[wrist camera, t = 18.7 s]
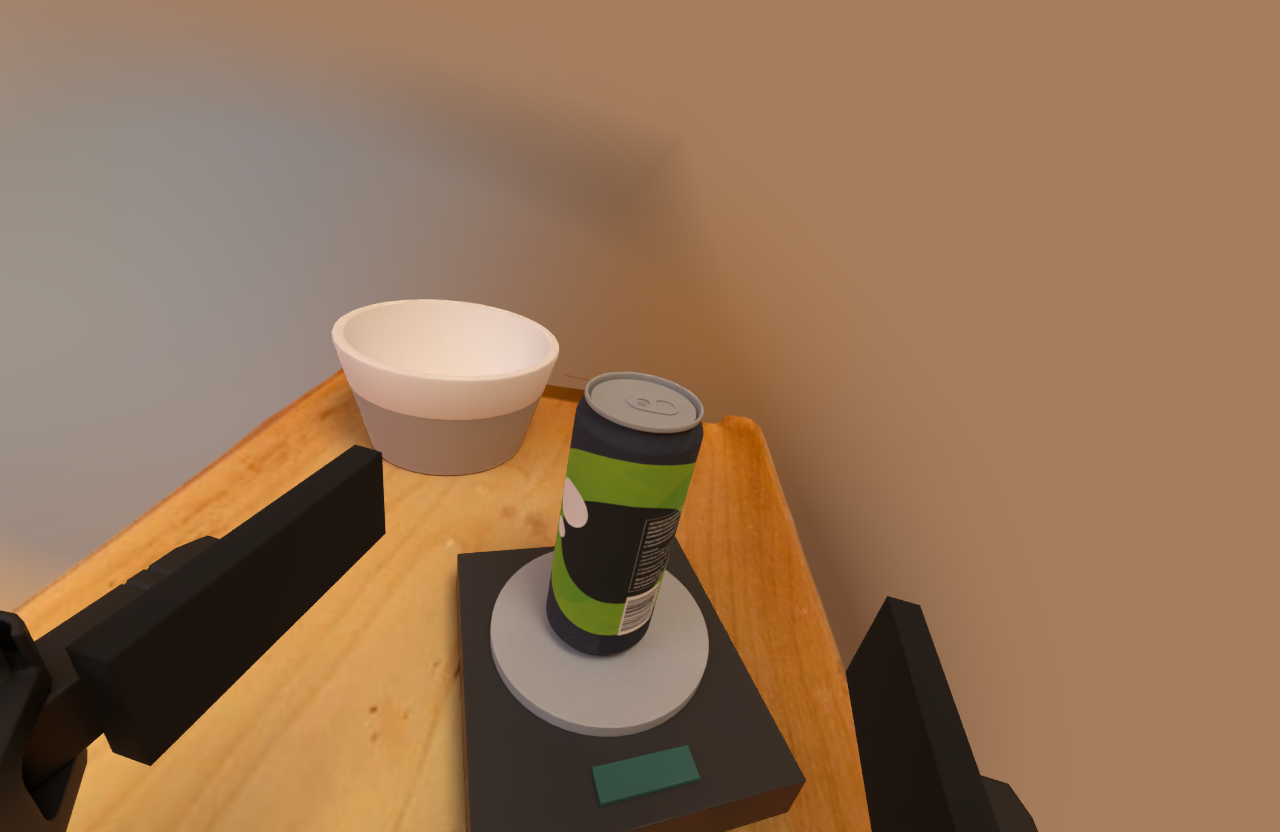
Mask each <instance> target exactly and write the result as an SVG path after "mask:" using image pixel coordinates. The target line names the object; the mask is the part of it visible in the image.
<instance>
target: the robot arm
mask: <svg viewBox="0 0 1280 832" xmlns="http://www.w3.org/2000/svg"><path fill="white" fill-rule="evenodd" d="M384 534H385V510H384V488H383V465H382V452H380V451H376V450H372V449H369V448H365V447H362V446H358V445H354V446H353V447H351V448H350V449H348V450H347V451H345V452H344V453H343V454H341V455H340V456H338V457H337V458H335V459H334V460H333V461H331V462H330V463H328V464H327V465H325V466H324V467H323V468H321V469H320V470H318V471H317V472H315V473H314V474H313V475H311V476H310V477H308V478H307V479H305V480H304V481H303V482H301V483H300V484H298V485H297V486H295V487H294V488H292V489H291V490H290V491H288V492H287V493H285V494H284V495H282V496H281V497H280V498H278V499H277V500H275V501H274V502H272V503H271V504H270V505H268V506H267V507H265V508H264V509H262V510H261V511H260V512H258V513H257V514H255V515H254V516H252V517H251V518H250V519H248V520H247V521H245V522H244V523H242V524H241V525H240V526H238V527H237V528H235V529H234V530H232V531H231V532H230V533H228V534H227V535H225V536H224V537H222V538H221V539H217V538H214V537H211V536H208V535H207V536H205V537H202V538H200V539H197V540H195V541H192V542H190V543H187V544H185V545H182V546H180V547H177V548H175V549H174V550H172V551H171V552H169V553H168V554H166V555H165V556H163V557H162V558H160V559H159V560H157V561H156V562H154V563H153V564H151V565H150V566H149V568H148V569H147V570H145V569H144V570H142V571H141V572H139V573H138V574H136V575H135V576H133V577H131V578H130V579H128V580H127V583H126V584H124V585H122V584H121V585H119V586H118V587H116V588H115V589H113V590H112V591H110V592H109V593H107V594H106V595H104V596H103V597H101V598H100V599H98V600H97V601H95V602H94V603H92V604H91V605H89V606H88V607H86V608H85V609H83V610H82V611H80V612H79V613H77V614H76V615H74V616H73V617H71V618H70V619H68V620H67V621H65V622H63V623H62V624H60V625H59V626H57V627H56V628H54V629H53V630H51V631H50V632H48V633H47V634H45V635H44V636H42V637H41V638H39V639H38V640H36V641H33V639H32V637H31V635H30V633H29V631H28V629H27V627H26V625H25V623H24V621H23V620H22V619H21V618H20V617H19V616H18V615H17V614H15V613H10V612H5V611H0V832H66V830H67V827H68V823H69V820H70V817H71V814H72V810H73V807H74V804H75V800H76V797H77V794H78V791H79V787H80V784H81V781H82V777H83V774H84V771H85V768H86V764H87V748H86V747H88V746H89V745H90V744H91V743H92V742H93V741H95V740H96V739H97V738H98V737H99V736H100V735H101V734H103V733H104V734H105V736H106V738H107V741H108V743H109V745H110V747H111V749H112V752H113V753H116V754H119V755H121V756H124V757H127V758H130V759H132V760H135V761H138V762H141V763H143V764H146V765H149V766H151V765H152V764H153V763H154V762H155V761H156V760H157V759H158V758H159V757H160V756H161V755H162V754H163V753H164V752H165V751H166V750H167V749H168V748H169V747H170V746H171V745H172V744H174V743H175V742H176V741H177V740H178V739H179V738H180V737H181V736H182V735H183V734H184V733H185V732H186V731H187V730H188V729H189V728H190V727H191V726H192V725H193V724H194V723H195V722H196V721H197V720H198V719H199V718H200V717H201V716H202V715H203V714H204V713H205V712H206V711H207V710H208V709H209V708H210V707H211V706H212V705H213V704H214V703H215V702H216V701H217V700H218V699H219V698H220V697H221V696H222V695H223V694H224V693H225V692H226V691H227V690H228V689H229V688H230V687H231V686H232V685H233V684H234V683H235V682H236V681H237V680H238V679H239V678H240V677H241V676H242V675H243V674H244V673H245V672H246V671H247V670H248V669H249V668H250V667H251V666H252V665H253V664H254V663H255V662H256V661H257V660H258V659H259V658H260V657H261V656H262V655H263V654H264V653H265V652H266V651H267V650H268V649H269V648H270V647H271V646H272V645H273V644H274V643H275V642H276V641H277V640H278V639H279V638H280V637H281V636H282V635H283V634H284V633H285V632H286V631H288V630H289V629H290V628H291V627H292V626H293V625H294V624H295V623H296V622H297V621H298V620H299V619H300V618H301V617H302V616H303V615H304V614H305V613H306V612H307V611H308V610H309V609H310V608H311V607H312V606H313V605H314V604H315V603H316V602H317V601H318V600H319V599H320V598H321V597H322V596H323V595H324V594H325V593H326V592H327V591H328V590H329V589H330V588H331V587H332V586H333V585H334V584H335V583H336V582H337V581H338V580H339V579H340V578H341V577H342V576H343V575H344V574H345V573H346V572H347V571H348V570H349V569H350V568H351V567H352V566H353V565H354V564H355V563H356V562H357V561H358V560H359V559H360V558H361V557H362V556H363V555H364V554H365V553H366V552H367V551H368V550H369V549H370V548H371V547H372V546H373V545H374V544H375V543H376V542H377V541H378V540H379V539H380V538H381V537H382V536H383V535H384ZM846 676H847V682H848V689H849V695H850V701H851V707H852V713H853V719H854V725H855V731H856V737H857V743H858V749H859V756H860V762H861V768H862V774H863V780H864V786H865V792H866V798H867V804H868V810H869V816H870V823H871V829H872V832H1038V830H1037V828H1036V826H1035V823H1034V821H1033V818H1032V817H1031V815H1030V814H1029V812H1028V811H1027V809H1026V808H1025V807H1024V805H1023V804H1022V803H1021V801H1020V800H1019V798H1018V797H1017V795H1016V794H1015V793H1014V791H1013V790H1012V788H1011V787H1010V786H1009V784H1007V783H1004V782H1000V781H998V780H994V779H991V778H988V777H985V776H981V775H980V773H979V770H978V767H977V764H976V761H975V759H974V756H973V753H972V750H971V747H970V745H969V742H968V739H967V736H966V733H965V730H964V728H963V725H962V722H961V719H960V716H959V714H958V711H957V708H956V705H955V702H954V700H953V697H952V694H951V691H950V688H949V685H948V683H947V680H946V677H945V674H944V672H943V669H942V666H941V663H940V660H939V657H938V654H937V652H936V649H935V646H934V643H933V640H932V638H931V635H930V633H929V629H928V627H927V624H926V621H925V618H924V615H923V612H922V609H921V607H920V605H917V604H913V603H910V602H906V601H903V600H899V599H896V598H892V597H889V596H887V598H886V599H885V601H884V603H883V605H882V607H881V609H880V610H879V612H878V614H877V616H876V618H875V619H874V622H873V623H872V625H871V627H870V629H869V630H868V632H867V634H866V636H865V638H864V640H863V641H862V643H861V645H860V647H859V649H858V650H857V652H856V654H855V656H854V658H853V659H852V661H851V663H850V665H849V667H848V669H847V670H846Z"/></svg>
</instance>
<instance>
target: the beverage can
mask: <svg viewBox="0 0 1280 832" xmlns="http://www.w3.org/2000/svg"><path fill="white" fill-rule="evenodd" d="M703 414H704V408H703V405H702V403H701V402H700V400H699V399H698V398H697V397H696V396H695V395H694V394H693V393H692V392H690V391H689V390H688V389H686V388H684V387H682V386H681V385H679V384H676V383H674V382H672V381H669V380H667V379H664V378H661V377H657V376H653V375H649V374H643V373H636V372H611V373H605V374H601V375H599V376H596V377H594V378H593V379H591V380H590V381H589V382H588V383H587V385H586V387H585V395H584V396H583V397H582V399H581V400H580V402H579V403H578V405H577V408H576V414H575V420H574V427H573V433H572V440H571V446H570V453H569V459H568V466H567V472H566V479H565V485H564V492H563V498H562V505H561V511H560V518H559V524H558V531H557V537H556V544H555V550H554V557H553V563H552V570H551V576H550V583H549V589H548V596H547V603H546V613H547V618H548V621H549V623H550V625H551V627H552V629H553V630H554V632H555V633H556V634H557V636H558V637H559V638H560V639H562V640H563V641H564V642H565V643H567V644H568V645H569V646H571V647H572V648H574V649H576V650H578V651H580V652H583V653H586V654H590V655H597V656H604V655H611V654H616V653H620V652H623V651H626V650H628V649H630V648H631V647H633V646H635V645H636V644H637V643H638V642H639V641H640V640H641V639H642V638H643V637H644V635H645V634H646V632H647V630H648V628H649V625H650V621H651V618H652V614H653V611H654V607H655V604H656V600H657V597H658V593H659V590H660V586H661V583H662V579H663V576H664V572H665V569H666V565H667V562H668V558H669V555H670V551H671V548H672V544H673V541H674V537H675V534H676V530H677V527H678V523H679V519H680V516H681V512H682V509H683V505H684V502H685V498H686V495H687V491H688V488H689V484H690V481H691V477H692V474H693V470H694V467H695V463H696V460H697V456H698V453H699V449H700V446H701V442H702V439H703V427H702V423H701V420H702V418H703Z"/></svg>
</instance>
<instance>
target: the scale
mask: <svg viewBox="0 0 1280 832" xmlns="http://www.w3.org/2000/svg"><path fill="white" fill-rule="evenodd" d="M554 550H555V547H542V548H529V549H516V550H503V551H490V552H477V553H464V554H458V557H457V580H456V593H457V618H458V643H459V667H460V692H461V716H462V741H463V765H464V790H465V815H466V832H724V831H727V830H730V829H734V828H737V827H740V826H743V825H747V824H750V823H753V822H756V821H760V820H763V819H766V818H769V817H773V816H776V815H779V814H782V813H786V812H788V810H789V808H790V807H791V805H792V803H793V802H794V800H795V798H796V797H797V795H798V793H799V792H800V790H801V788H802V786H803V785H804V783H805V781H806V779H805V777H804V776H803V774H802V772H801V770H800V768H799V766H798V764H797V762H796V761H795V759H794V757H793V755H792V753H791V751H790V749H789V748H788V746H787V744H786V742H785V740H784V738H783V736H782V734H781V733H780V731H779V729H778V727H777V725H776V723H775V721H774V720H773V718H772V716H771V714H770V712H769V710H768V708H767V707H766V705H765V703H764V701H763V699H762V697H761V695H760V693H759V692H758V690H757V688H756V686H755V684H754V682H753V680H752V679H751V677H750V675H749V673H748V671H747V669H746V667H745V665H744V664H743V662H742V660H741V658H740V656H739V654H738V652H737V651H736V649H735V647H734V645H733V643H732V641H731V639H730V638H729V636H728V634H727V632H726V630H725V628H724V626H723V624H722V623H721V621H720V619H719V617H718V615H717V613H716V611H715V610H714V608H713V606H712V604H711V602H710V600H709V598H708V597H707V595H706V593H705V591H704V589H703V587H702V585H701V583H700V582H699V580H698V578H697V576H696V574H695V572H694V570H693V569H692V567H691V565H690V563H689V561H688V559H687V557H686V555H685V554H684V552H683V550H682V548H681V546H680V544H679V542H678V541H677V539H676V537H674V541H673V544H672V548H671V551H670V555H669V558H668V562H667V565H666V569H665V572H664V576H663V579H662V583H661V586H660V590H659V593H658V597H657V600H656V604H655V607H654V611H653V614H652V618H651V621H650V625H649V628H648V630H647V632H646V634H645V635H644V637H643V638H642V639H641V640H640V641H639V642H638V643H637V644H636V645H635V646H633V647H631V648H630V649H628V650H626V651H623V652H620V653H616V654H611V655H604V656H597V655H590V654H586V653H583V652H580V651H578V650H576V649H574V648H572V647H571V646H569V645H568V644H567V643H565V642H564V641H563V640H562V639H560V638H559V637H558V636H557V634H556V633H555V632H554V630H553V629H552V627H551V625H550V623H549V621H548V618H547V613H546V603H547V596H548V589H549V583H550V576H551V570H552V563H553V557H554Z"/></svg>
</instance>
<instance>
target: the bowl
mask: <svg viewBox="0 0 1280 832" xmlns="http://www.w3.org/2000/svg"><path fill="white" fill-rule="evenodd" d="M331 337H332V340H333V344H334V346H335V349H336V352H337V354H338V357H339V359H340V362H341V365H342V367H343V370H344V373H345V375H346V378H347V380H348V383H349V385H350V387H351V390H352V392H353V395H354V397H355V400H356V403H357V405H358V408H359V411H360V413H361V416H362V418H363V421H364V424H365V426H366V429H367V432H368V434H369V437H370V440H371V442H372V445H373V447H374V449H375V450H376V451H380V452H382V457H383V458H384V459H385V460H387V461H388V462H390V463H392V464H394V465H396V466H398V467H400V468H404V469H407V470H410V471H413V472H418V473H424V474H429V475H444V476H450V475H465V474H471V473H478V472H481V471H485V470H488V469H492V468H494V467H496V466H499V465H501V464H503V463H505V462H506V461H507V460H509V459H510V458H512V457H513V456H514V455H515V454H516V452H517V451H518V450H519V448H520V446H521V444H522V441H523V439H524V436H525V434H526V432H527V429H528V427H529V424H530V422H531V419H532V417H533V415H534V412H535V410H536V407H537V405H538V402H539V400H540V398H541V395H542V393H543V391H544V389H545V387H546V384H547V382H548V379H549V377H550V374H551V372H552V369H553V367H554V365H555V362H556V360H557V357H558V355H559V344H558V342H557V340H556V338H555V337H554V336H553V334H552V333H551V332H549V331H548V330H547V329H546V328H544V327H543V326H541V325H540V324H538V323H536V322H535V321H532V320H530V319H528V318H526V317H524V316H521V315H518V314H515V313H512V312H510V311H506V310H502V309H498V308H495V307H491V306H485V305H480V304H475V303H468V302H460V301H450V300H429V299H418V300H399V301H391V302H382V303H378V304H373V305H369V306H365V307H362V308H359V309H356V310H354V311H351V312H349V313H348V314H346V315H344V316H342V317H341V318H340V319H339V320H338V321H337V322H336V323H335V324H334V326H333V329H332V333H331Z"/></svg>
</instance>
